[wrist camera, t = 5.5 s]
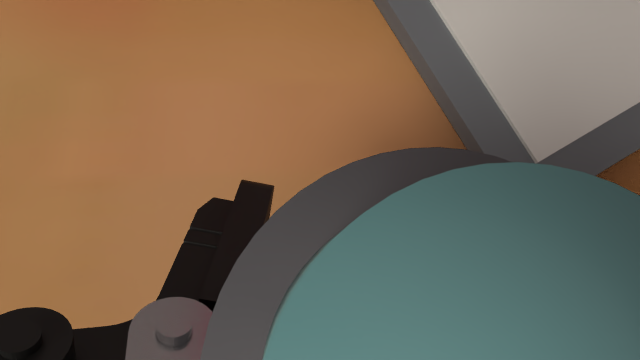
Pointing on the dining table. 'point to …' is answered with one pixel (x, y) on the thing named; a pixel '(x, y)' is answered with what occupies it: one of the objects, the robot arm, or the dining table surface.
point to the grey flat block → (530, 75)
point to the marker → (438, 266)
